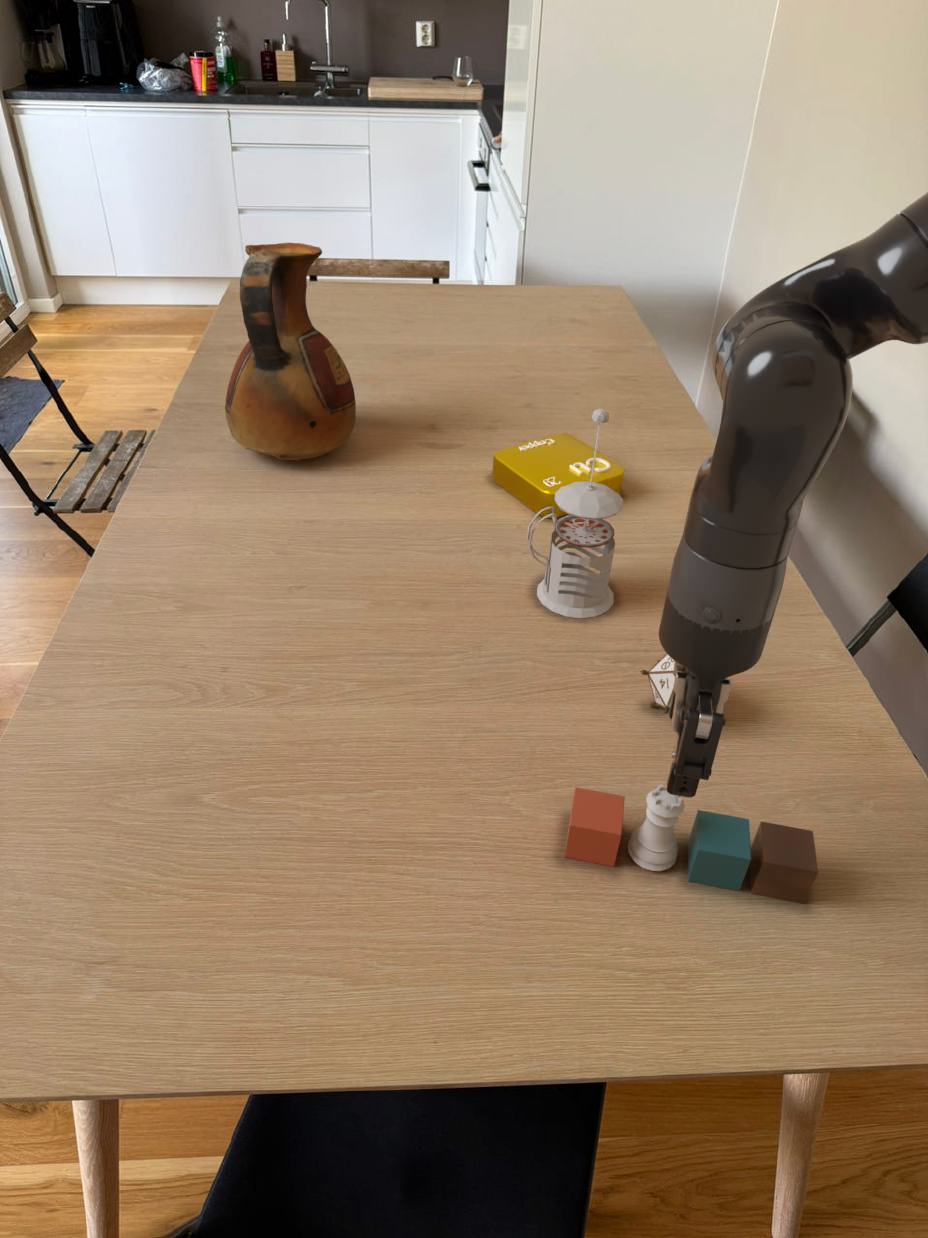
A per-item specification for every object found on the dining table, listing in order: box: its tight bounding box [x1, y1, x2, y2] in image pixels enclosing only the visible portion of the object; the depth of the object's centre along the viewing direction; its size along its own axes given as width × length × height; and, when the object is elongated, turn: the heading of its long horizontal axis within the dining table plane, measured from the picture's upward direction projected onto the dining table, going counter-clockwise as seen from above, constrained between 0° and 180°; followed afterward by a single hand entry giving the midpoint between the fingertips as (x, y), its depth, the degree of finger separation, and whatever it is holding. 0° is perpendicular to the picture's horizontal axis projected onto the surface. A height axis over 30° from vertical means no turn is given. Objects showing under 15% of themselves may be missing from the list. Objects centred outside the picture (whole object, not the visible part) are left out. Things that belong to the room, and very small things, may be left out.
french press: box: [526, 408, 624, 619], centre depth 104 cm, size 10×12×25 cm
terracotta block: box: [564, 787, 626, 868], centre depth 80 cm, size 4×4×4 cm
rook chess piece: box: [627, 784, 685, 872], centre depth 78 cm, size 4×4×8 cm
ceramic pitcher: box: [224, 242, 357, 461], centre depth 132 cm, size 20×20×30 cm
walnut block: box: [749, 821, 819, 904], centre depth 78 cm, size 4×4×4 cm
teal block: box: [687, 809, 752, 892], centre depth 79 cm, size 4×4×4 cm
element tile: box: [491, 432, 625, 519], centre depth 132 cm, size 15×15×5 cm
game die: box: [639, 653, 731, 715], centre depth 94 cm, size 9×8×10 cm
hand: (680, 753), depth 73 cm, fingers open, 8 cm apart
